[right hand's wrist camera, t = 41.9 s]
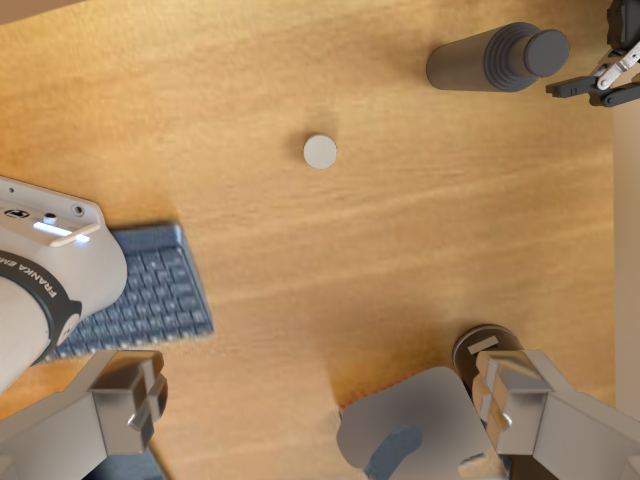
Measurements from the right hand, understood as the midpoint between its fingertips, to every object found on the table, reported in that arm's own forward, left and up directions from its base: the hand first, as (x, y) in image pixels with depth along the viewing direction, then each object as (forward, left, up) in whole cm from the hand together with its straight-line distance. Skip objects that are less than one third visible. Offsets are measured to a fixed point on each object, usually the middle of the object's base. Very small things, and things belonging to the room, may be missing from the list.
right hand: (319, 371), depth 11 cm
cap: (0, 0, -39) cm, 39 cm away
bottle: (+8, +14, -41) cm, 44 cm away
